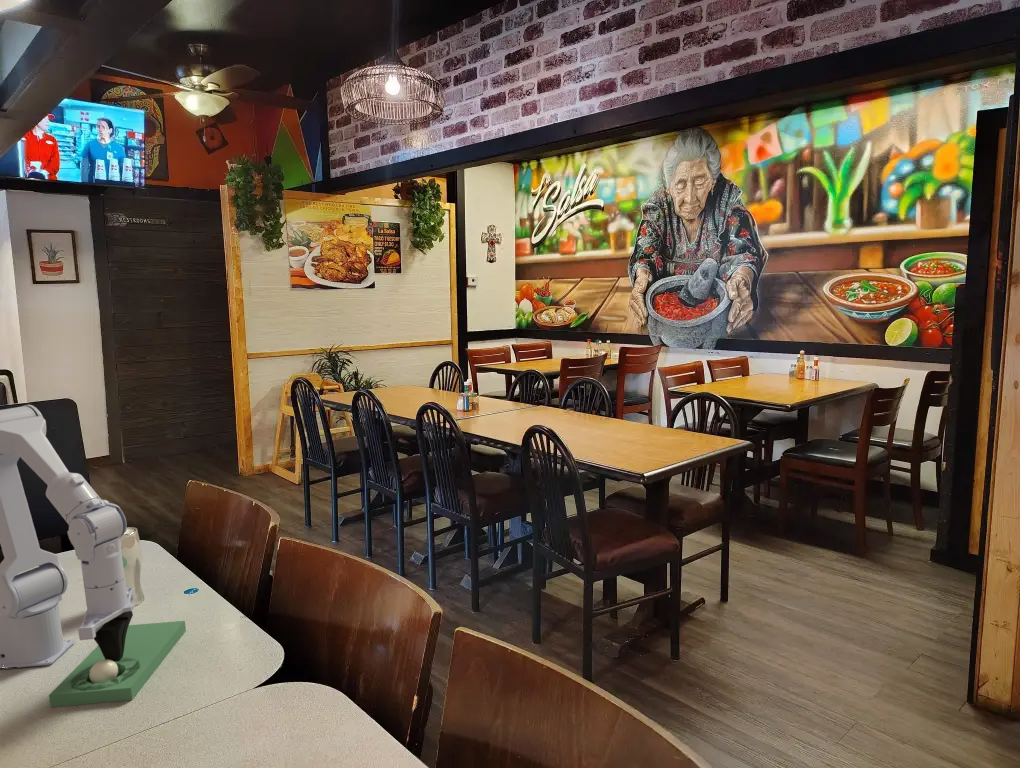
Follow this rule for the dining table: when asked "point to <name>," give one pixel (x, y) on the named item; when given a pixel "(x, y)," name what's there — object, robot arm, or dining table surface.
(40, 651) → the robot arm
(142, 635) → the putting mat
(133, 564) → the beer glass
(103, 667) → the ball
